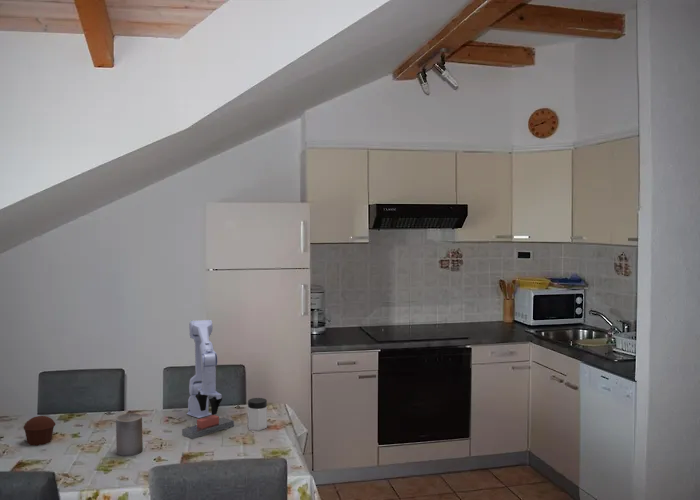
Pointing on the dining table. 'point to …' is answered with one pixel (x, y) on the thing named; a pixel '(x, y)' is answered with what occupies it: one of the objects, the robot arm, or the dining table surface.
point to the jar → (257, 414)
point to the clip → (208, 421)
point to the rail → (207, 428)
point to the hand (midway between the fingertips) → (208, 412)
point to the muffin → (39, 430)
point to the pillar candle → (129, 434)
